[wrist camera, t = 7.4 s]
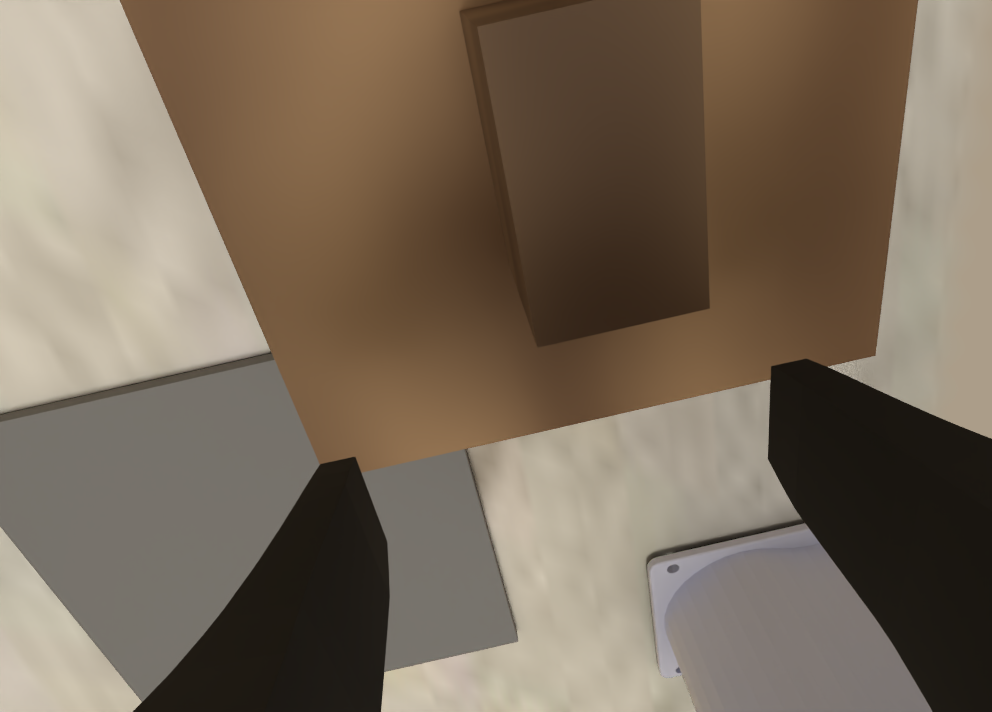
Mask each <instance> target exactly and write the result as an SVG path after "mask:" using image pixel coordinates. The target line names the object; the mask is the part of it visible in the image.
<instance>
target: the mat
mask: <svg viewBox="0 0 992 712" xmlns="http://www.w3.org/2000/svg"><path fill="white" fill-rule="evenodd" d="M319 465H320V464H319V462H318V459H317V457H316V455H315V452H314V450H313V448H312V445H311V443H310V441H309V438H308V436H307V434H306V431H305V429H304V427H303V424H302V422H301V420H300V417H299V415H298V413H297V411H296V408H295V406H294V404H293V401H292V399H291V397H290V394H289V392H288V390H287V387H286V385H285V383H284V380H283V378H282V376H281V373H280V371H279V369H278V366H277V364H276V362H275V359H274V357H273V355H272V353H270V354H266V355H261V356H257V357H252V358H248V359H244V360H239V361H235V362H230V363H226V364H222V365H217V366H213V367H208V368H204V369H200V370H195V371H191V372H186V373H182V374H178V375H173V376H169V377H164V378H160V379H156V380H151V381H147V382H142V383H138V384H134V385H129V386H125V387H120V388H116V389H112V390H107V391H103V392H98V393H94V394H90V395H85V396H81V397H76V398H72V399H68V400H63V401H59V402H54V403H50V404H46V405H41V406H37V407H32V408H28V409H24V410H19V411H15V412H10V413H6V414H2V415H0V527H1V528H2V529H3V530H4V532H5V533H6V534H7V535H8V537H9V538H10V539H11V540H12V542H13V543H14V544H15V545H16V547H17V548H18V549H19V550H20V551H21V553H22V554H23V555H24V556H25V558H26V559H27V560H28V561H29V563H30V564H31V565H32V566H33V568H34V569H35V570H36V571H37V573H38V574H39V575H40V576H41V577H42V579H43V580H44V581H45V582H46V584H47V585H48V586H49V587H50V589H51V590H52V591H53V592H54V594H55V595H56V596H57V597H58V599H59V600H60V601H61V602H62V603H63V605H64V606H65V607H66V608H67V610H68V611H69V612H70V613H71V615H72V616H73V617H74V618H75V620H76V621H77V622H78V623H79V625H80V626H81V627H82V628H83V629H84V631H85V632H86V633H87V634H88V636H89V637H90V638H91V639H92V641H93V642H94V643H95V644H96V646H97V647H98V648H99V649H100V650H101V652H102V653H103V654H104V655H105V657H106V658H107V659H108V660H109V662H110V663H111V664H112V665H113V667H114V668H115V669H116V670H117V672H118V673H119V674H120V675H121V676H122V678H123V679H124V680H125V681H126V683H127V684H128V685H129V686H130V688H131V689H132V690H133V691H134V693H135V694H136V695H137V696H138V698H139V699H140V700H141V701H142V702H143V701H144V700H145V699H146V698H147V697H148V696H149V695H150V694H151V692H152V691H153V690H154V689H155V688H156V687H157V686H158V685H159V684H160V683H161V682H162V681H163V680H164V679H165V678H166V677H167V676H168V675H169V674H170V673H171V671H172V670H173V669H174V668H175V667H176V666H177V665H178V664H179V662H180V661H181V660H182V659H183V658H184V657H185V655H186V654H187V653H188V652H189V651H190V650H191V648H192V647H193V646H194V645H195V644H196V643H197V641H198V640H199V639H200V638H201V637H202V636H203V634H204V633H205V632H206V631H207V629H208V628H209V627H210V626H211V625H212V623H213V622H214V621H215V620H216V618H217V617H218V616H219V614H220V613H221V612H222V611H223V609H224V608H225V607H226V605H227V604H228V602H229V601H230V600H231V598H232V597H233V596H234V594H235V593H236V591H237V590H238V589H239V587H240V586H241V585H242V583H243V582H244V580H245V579H246V578H247V576H248V575H249V574H250V572H251V571H252V569H253V568H254V566H255V565H256V564H257V562H258V561H259V559H260V558H261V556H262V555H263V553H264V551H265V550H266V548H267V547H268V545H269V544H270V542H271V541H272V539H273V538H274V536H275V535H276V533H277V532H278V530H279V529H280V527H281V526H282V524H283V522H284V521H285V519H286V518H287V516H288V514H289V513H290V511H291V510H292V508H293V506H294V505H295V503H296V501H297V500H298V498H299V497H300V495H301V493H302V492H303V490H304V488H305V487H306V485H307V484H308V482H309V480H310V479H311V477H312V476H313V474H314V473H315V471H316V470H317V468H318V467H319ZM362 476H363V478H364V481H365V484H366V486H367V489H368V492H369V494H370V497H371V500H372V502H373V505H374V508H375V510H376V513H377V516H378V518H379V521H380V523H381V526H382V529H383V531H384V534H385V537H386V539H387V544H388V563H389V586H390V602H389V616H388V630H387V643H386V655H385V667H384V672H386V671H391V670H395V669H400V668H404V667H408V666H413V665H417V664H422V663H426V662H430V661H435V660H439V659H444V658H448V657H452V656H457V655H461V654H466V653H470V652H474V651H479V650H483V649H488V648H492V647H496V646H501V645H505V644H510V643H514V642H518V636H517V631H516V627H515V624H514V620H513V617H512V613H511V609H510V606H509V602H508V599H507V595H506V591H505V588H504V584H503V581H502V577H501V574H500V570H499V566H498V563H497V559H496V556H495V552H494V548H493V545H492V541H491V538H490V534H489V530H488V527H487V523H486V520H485V516H484V513H483V509H482V505H481V502H480V498H479V495H478V491H477V487H476V484H475V480H474V477H473V473H472V469H471V466H470V462H469V459H468V455H467V452H466V449H463V450H459V451H454V452H450V453H446V454H441V455H437V456H432V457H428V458H424V459H419V460H415V461H410V462H406V463H402V464H397V465H393V466H389V467H384V468H380V469H375V470H371V471H367V472H362Z"/></svg>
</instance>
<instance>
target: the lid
mask: <svg viewBox="0 0 992 712" xmlns="http://www.w3.org/2000/svg"><path fill="white" fill-rule="evenodd" d="M120 2H121V4H122V7H123V9H124V11H125V14H126V16H127V18H128V21H129V23H130V25H131V28H132V30H133V32H134V35H135V37H136V39H137V42H138V44H139V46H140V49H141V51H142V53H143V56H144V58H145V60H146V62H147V65H148V67H149V69H150V72H151V74H152V76H153V79H154V81H155V83H156V86H157V88H158V90H159V93H160V95H161V97H162V100H163V102H164V104H165V107H166V109H167V111H168V114H169V116H170V118H171V120H172V123H173V125H174V127H175V130H176V132H177V134H178V137H179V139H180V141H181V144H182V146H183V148H184V151H185V153H186V155H187V158H188V160H189V162H190V165H191V167H192V169H193V172H194V174H195V176H196V178H197V181H198V183H199V185H200V188H201V190H202V192H203V195H204V197H205V199H206V202H207V204H208V206H209V209H210V211H211V213H212V216H213V218H214V220H215V223H216V225H217V227H218V230H219V232H220V234H221V237H222V239H223V241H224V243H225V246H226V248H227V250H228V253H229V255H230V257H231V260H232V262H233V264H234V267H235V269H236V271H237V274H238V276H239V278H240V281H241V283H242V285H243V288H244V290H245V292H246V295H247V297H248V299H249V301H250V304H251V306H252V308H253V311H254V313H255V315H256V318H257V320H258V322H259V325H260V327H261V329H262V332H263V334H264V336H265V339H266V341H267V343H268V346H269V348H270V350H271V353H272V355H273V357H274V359H275V362H276V364H277V366H278V369H279V371H280V373H281V376H282V378H283V380H284V383H285V385H286V387H287V390H288V392H289V394H290V397H291V399H292V401H293V404H294V406H295V408H296V411H297V413H298V415H299V417H300V420H301V422H302V424H303V427H304V429H305V431H306V434H307V436H308V438H309V441H310V443H311V445H312V448H313V450H314V452H315V455H316V457H317V459H318V462H319V464H323V463H327V462H332V461H337V460H341V459H346V458H350V457H356V460H357V462H358V465H359V468H360V470H361V473H362V472H367V471H371V470H375V469H380V468H384V467H389V466H393V465H397V464H402V463H406V462H410V461H415V460H419V459H424V458H428V457H432V456H437V455H441V454H446V453H450V452H454V451H459V450H463V449H468V448H472V447H476V446H481V445H485V444H489V443H494V442H498V441H503V440H507V439H511V438H516V437H520V436H525V435H529V434H533V433H538V432H542V431H546V430H551V429H555V428H560V427H564V426H568V425H573V424H577V423H582V422H586V421H590V420H595V419H599V418H603V417H608V416H612V415H617V414H621V413H625V412H630V411H634V410H639V409H643V408H647V407H652V406H656V405H660V404H665V403H669V402H674V401H678V400H682V399H687V398H691V397H696V396H700V395H704V394H709V393H713V392H718V391H722V390H726V389H731V388H735V387H739V386H744V385H748V384H753V383H757V382H761V381H766V380H770V379H771V366H774V365H778V364H783V363H788V362H792V361H797V360H802V359H809V360H812V361H814V362H817V363H819V364H821V365H824V366H826V367H827V366H832V365H836V364H840V363H845V362H849V361H853V360H858V359H862V358H867V357H871V356H875V354H876V346H877V338H878V329H879V321H880V313H881V304H882V296H883V288H884V279H885V271H886V263H887V254H888V246H889V238H890V229H891V221H892V213H893V204H894V196H895V188H896V179H897V171H898V163H899V154H900V146H901V138H902V129H903V121H904V113H905V104H906V96H907V88H908V79H909V71H910V63H911V54H912V46H913V38H914V29H915V21H916V13H917V4H918V0H120Z"/></svg>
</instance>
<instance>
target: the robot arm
mask: <svg viewBox="0 0 992 712" xmlns="http://www.w3.org/2000/svg"><path fill="white" fill-rule="evenodd" d="M768 460H769V462H770V464H771V465H772V467H773V469H774V471H775V473H776V475H777V477H778V479H779V481H780V483H781V485H782V486H783V488H784V490H785V492H786V494H787V495H788V497H789V499H790V501H791V502H792V504H793V506H794V508H795V509H796V511H797V512H798V514H799V515H800V516H801V518H802V519H803V521H804V522H805V523H804V524H800V525H795V526H791V527H787V528H782V529H778V530H773V531H769V532H764V533H760V534H756V535H751V536H747V537H742V538H738V539H734V540H729V541H725V542H720V543H716V544H712V545H707V546H703V547H698V548H694V549H690V550H685V551H681V552H676V553H672V554H668V555H663V556H659V557H656V558H653V559H652V560H651V561H650V562H649V563H648V565H647V572H648V581H649V590H650V599H651V609H652V618H653V627H654V636H655V645H656V654H657V663H658V669H659V672H660V674H661V676H663V677H665V678H672V677H677V676H681V675H682V676H683V678H684V681H685V684H686V686H687V689H688V691H689V694H690V697H691V699H692V702H693V704H694V707H695V709H696V712H992V439H991V438H988V437H985V436H983V435H980V434H978V433H975V432H973V431H970V430H968V429H965V428H962V427H960V426H958V425H955V424H953V423H950V422H948V421H946V420H943V419H941V418H939V417H936V416H934V415H932V414H929V413H927V412H925V411H922V410H920V409H918V408H916V407H913V406H911V405H909V404H907V403H905V402H902V401H900V400H898V399H896V398H894V397H891V396H889V395H887V394H885V393H883V392H880V391H878V390H876V389H874V388H872V387H870V386H868V385H865V384H863V383H861V382H859V381H857V380H855V379H852V378H850V377H848V376H846V375H844V374H842V373H839V372H837V371H835V370H833V369H831V368H828V367H826V366H824V365H821V364H819V363H817V362H814V361H812V360H809V359H802V360H797V361H792V362H788V363H783V364H778V365H774V366H771V384H770V414H769V445H768ZM670 565H671V566H670ZM389 602H390V586H389V563H388V544H387V539H386V537H385V534H384V531H383V529H382V526H381V523H380V521H379V518H378V516H377V513H376V510H375V508H374V505H373V502H372V500H371V497H370V494H369V492H368V489H367V486H366V484H365V481H364V478H363V476H362V473H361V470H360V468H359V465H358V462H357V460H356V457H350V458H346V459H341V460H337V461H332V462H327V463H323V464H320V465H319V467H318V468H317V470H316V471H315V473H314V474H313V476H312V477H311V479H310V480H309V482H308V484H307V485H306V487H305V488H304V490H303V492H302V493H301V495H300V497H299V498H298V500H297V501H296V503H295V505H294V506H293V508H292V510H291V511H290V513H289V514H288V516H287V518H286V519H285V521H284V522H283V524H282V526H281V527H280V529H279V530H278V532H277V533H276V535H275V536H274V538H273V539H272V541H271V542H270V544H269V545H268V547H267V548H266V550H265V551H264V553H263V555H262V556H261V558H260V559H259V561H258V562H257V564H256V565H255V566H254V568H253V569H252V571H251V572H250V574H249V575H248V576H247V578H246V579H245V580H244V582H243V583H242V585H241V586H240V587H239V589H238V590H237V591H236V593H235V594H234V596H233V597H232V598H231V600H230V601H229V602H228V604H227V605H226V607H225V608H224V609H223V611H222V612H221V613H220V614H219V616H218V617H217V618H216V620H215V621H214V622H213V623H212V625H211V626H210V627H209V628H208V629H207V631H206V632H205V633H204V634H203V636H202V637H201V638H200V639H199V640H198V641H197V643H196V644H195V645H194V646H193V647H192V648H191V650H190V651H189V652H188V653H187V654H186V655H185V657H184V658H183V659H182V660H181V661H180V662H179V664H178V665H177V666H176V667H175V668H174V669H173V670H172V671H171V673H170V674H169V675H168V676H167V677H166V678H165V679H164V680H163V681H162V682H161V683H160V684H159V685H158V686H157V687H156V688H155V689H154V690H153V691H152V692H151V694H150V695H149V696H148V697H147V698H146V699H145V700H144V701H143V702H142V703H141V704H140V705H139V706H138V707H137V708H136V709H135V710H134V711H133V712H381V704H382V691H383V679H384V667H385V655H386V643H387V630H388V616H389Z"/></svg>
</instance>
